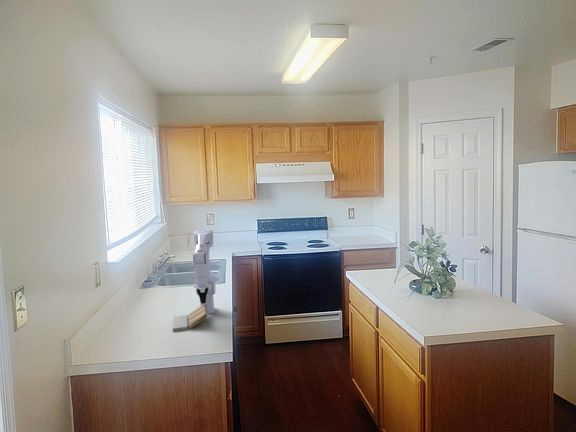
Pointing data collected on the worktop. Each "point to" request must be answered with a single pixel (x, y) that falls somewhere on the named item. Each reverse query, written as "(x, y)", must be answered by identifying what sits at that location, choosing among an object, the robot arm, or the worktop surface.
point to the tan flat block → (197, 316)
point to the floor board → (180, 323)
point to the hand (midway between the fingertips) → (203, 303)
